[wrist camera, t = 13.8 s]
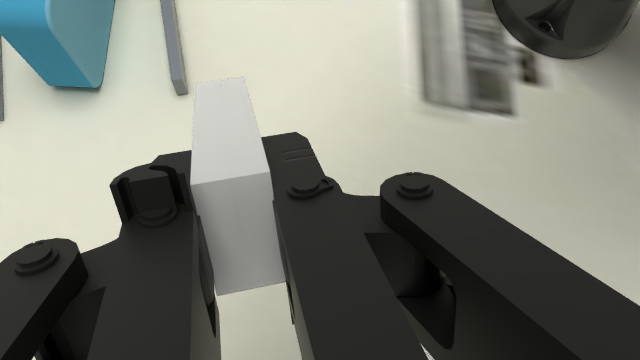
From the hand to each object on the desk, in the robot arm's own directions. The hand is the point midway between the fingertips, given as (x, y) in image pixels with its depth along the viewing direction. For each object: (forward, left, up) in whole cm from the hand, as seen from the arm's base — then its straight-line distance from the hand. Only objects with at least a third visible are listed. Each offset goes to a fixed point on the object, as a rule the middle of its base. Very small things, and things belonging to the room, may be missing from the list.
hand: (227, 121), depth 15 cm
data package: (+13, -25, -30) cm, 41 cm away
